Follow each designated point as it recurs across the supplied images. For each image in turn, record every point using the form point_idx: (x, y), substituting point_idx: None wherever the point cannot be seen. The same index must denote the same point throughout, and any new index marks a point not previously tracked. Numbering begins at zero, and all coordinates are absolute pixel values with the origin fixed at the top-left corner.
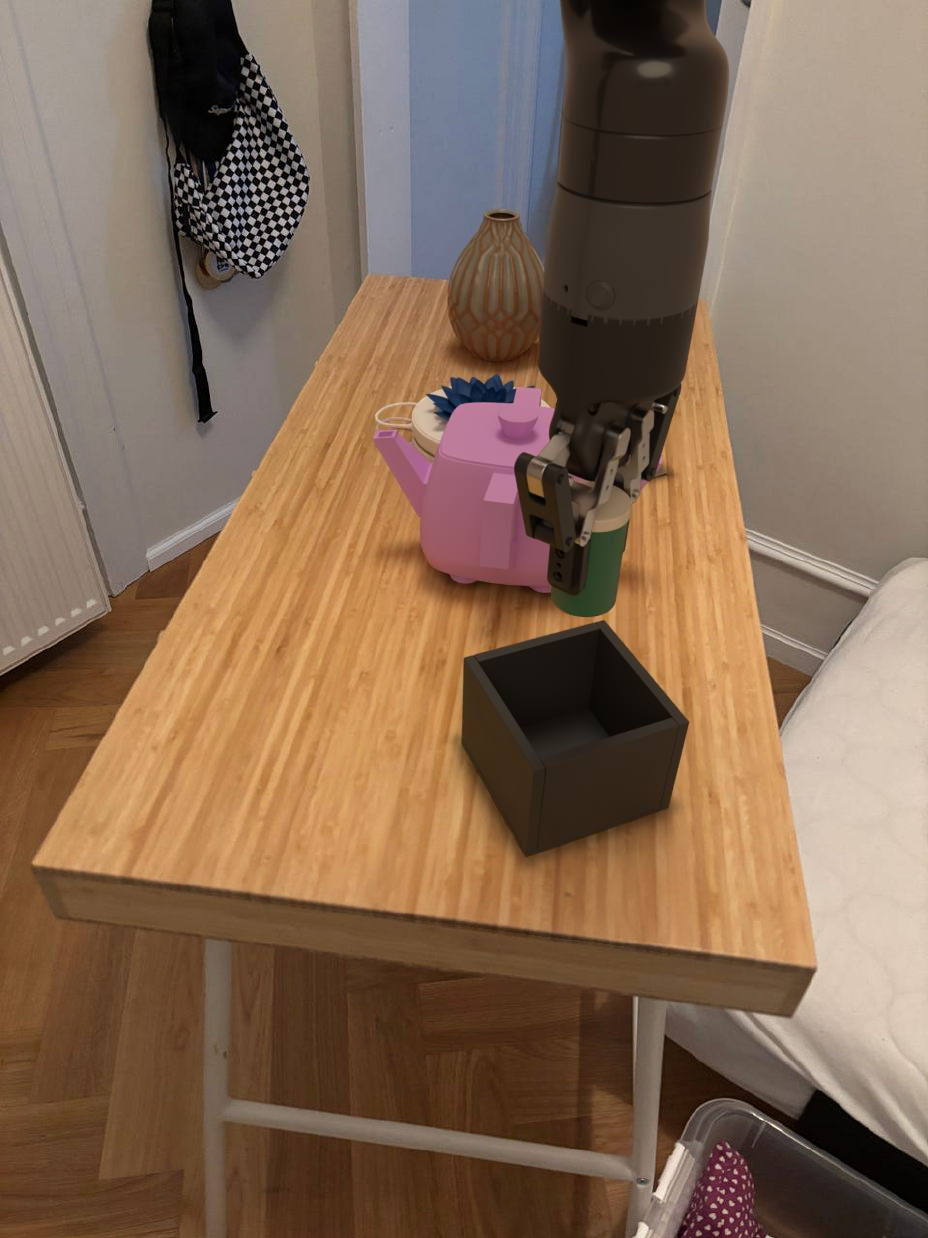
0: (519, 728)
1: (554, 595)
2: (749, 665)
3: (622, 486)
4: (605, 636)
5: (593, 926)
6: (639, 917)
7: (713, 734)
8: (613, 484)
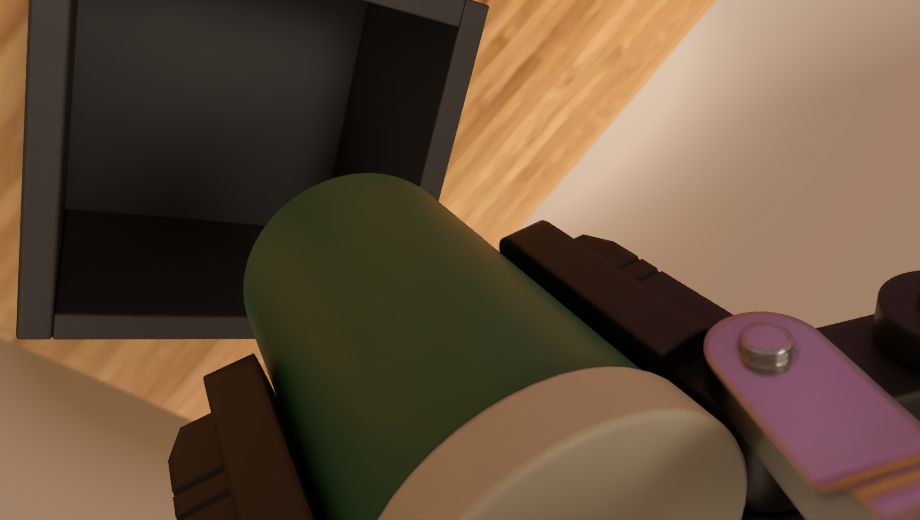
0: (55, 214)
1: (251, 287)
2: (638, 77)
3: (762, 498)
4: (450, 55)
5: (81, 364)
6: (160, 373)
7: (490, 160)
8: (756, 470)
